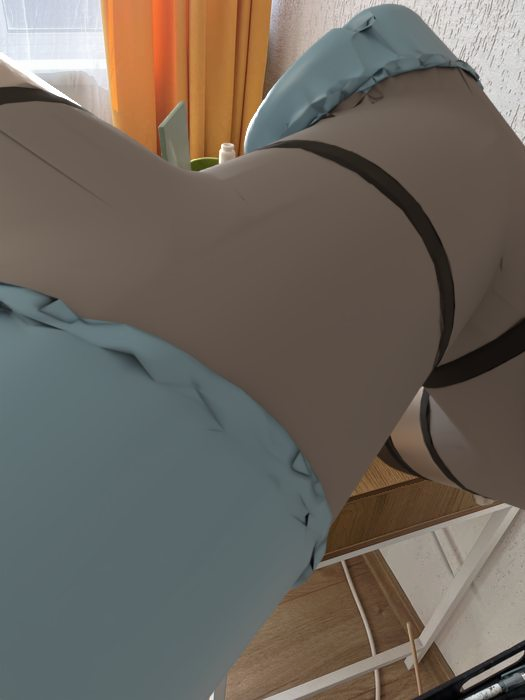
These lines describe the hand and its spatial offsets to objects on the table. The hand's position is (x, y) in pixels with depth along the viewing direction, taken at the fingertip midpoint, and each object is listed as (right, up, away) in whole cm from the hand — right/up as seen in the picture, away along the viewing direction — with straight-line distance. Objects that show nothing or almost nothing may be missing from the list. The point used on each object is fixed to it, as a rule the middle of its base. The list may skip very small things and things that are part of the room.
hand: (330, 407), depth 50 cm
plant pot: (-18, +35, +69) cm, 79 cm away
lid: (-19, +34, +32) cm, 51 cm away
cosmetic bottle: (-14, +24, +55) cm, 62 cm away
